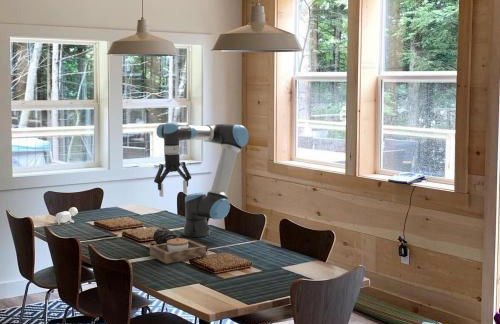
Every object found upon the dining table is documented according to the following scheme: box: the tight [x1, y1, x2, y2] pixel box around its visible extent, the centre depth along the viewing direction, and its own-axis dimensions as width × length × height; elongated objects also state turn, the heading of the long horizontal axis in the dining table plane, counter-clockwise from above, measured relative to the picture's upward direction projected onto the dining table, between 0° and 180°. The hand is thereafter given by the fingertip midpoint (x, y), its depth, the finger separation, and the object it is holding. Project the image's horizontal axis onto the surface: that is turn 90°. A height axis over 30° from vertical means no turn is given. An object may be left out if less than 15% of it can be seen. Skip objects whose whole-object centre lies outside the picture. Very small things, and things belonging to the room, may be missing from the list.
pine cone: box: [153, 227, 179, 245], centre depth 380 cm, size 10×18×10 cm, turn 45°
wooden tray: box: [149, 238, 207, 264], centre depth 363 cm, size 22×18×5 cm
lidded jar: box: [167, 237, 188, 252], centre depth 363 cm, size 11×11×9 cm
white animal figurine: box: [52, 206, 79, 226], centre depth 443 cm, size 9×8×15 cm
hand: (173, 194), depth 373 cm, fingers open, 13 cm apart
